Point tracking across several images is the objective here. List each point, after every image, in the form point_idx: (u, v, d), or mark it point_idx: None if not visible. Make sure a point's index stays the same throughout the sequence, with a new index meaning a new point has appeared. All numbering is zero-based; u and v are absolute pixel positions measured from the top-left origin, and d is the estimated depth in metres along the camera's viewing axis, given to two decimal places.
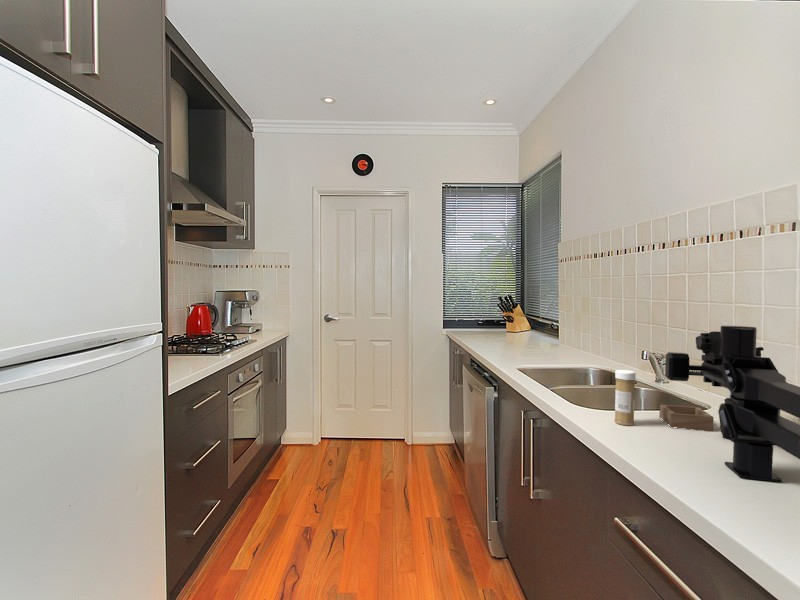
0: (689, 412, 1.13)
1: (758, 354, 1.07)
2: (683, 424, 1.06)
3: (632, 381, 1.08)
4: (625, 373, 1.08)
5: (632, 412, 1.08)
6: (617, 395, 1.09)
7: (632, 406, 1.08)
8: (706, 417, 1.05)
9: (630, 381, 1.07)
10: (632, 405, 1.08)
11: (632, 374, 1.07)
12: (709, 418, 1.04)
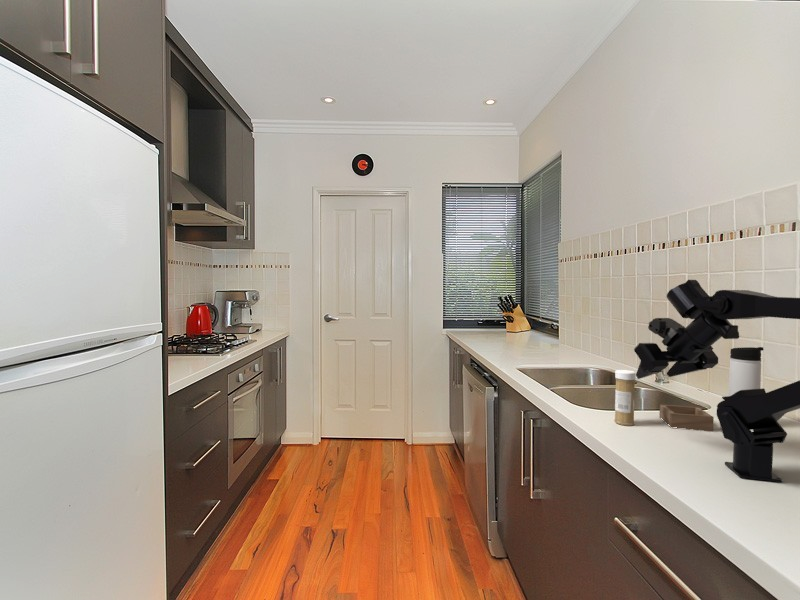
0: (689, 412, 1.13)
1: (758, 354, 1.07)
2: (683, 424, 1.06)
3: (632, 381, 1.08)
4: (625, 373, 1.08)
5: (632, 412, 1.08)
6: (617, 395, 1.09)
7: (632, 406, 1.08)
8: (706, 417, 1.05)
9: (630, 381, 1.07)
10: (632, 405, 1.08)
11: (632, 374, 1.07)
12: (709, 418, 1.04)
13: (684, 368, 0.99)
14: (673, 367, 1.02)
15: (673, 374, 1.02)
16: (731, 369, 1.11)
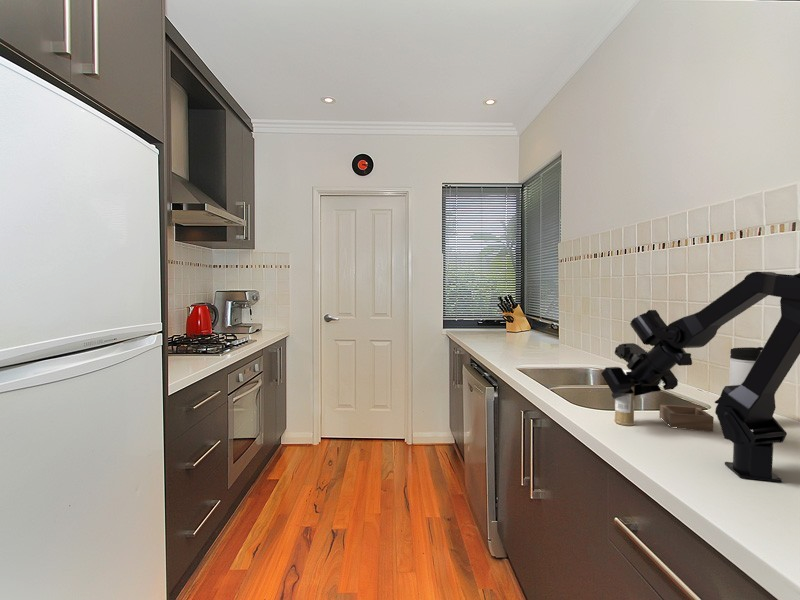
0: (689, 412, 1.13)
1: (758, 354, 1.07)
2: (683, 424, 1.06)
3: None
4: (625, 373, 1.08)
5: (632, 412, 1.08)
6: None
7: (632, 406, 1.08)
8: (706, 417, 1.05)
9: None
10: (632, 405, 1.08)
11: None
12: (709, 418, 1.04)
13: (641, 390, 1.08)
14: None
15: None
16: (731, 369, 1.11)
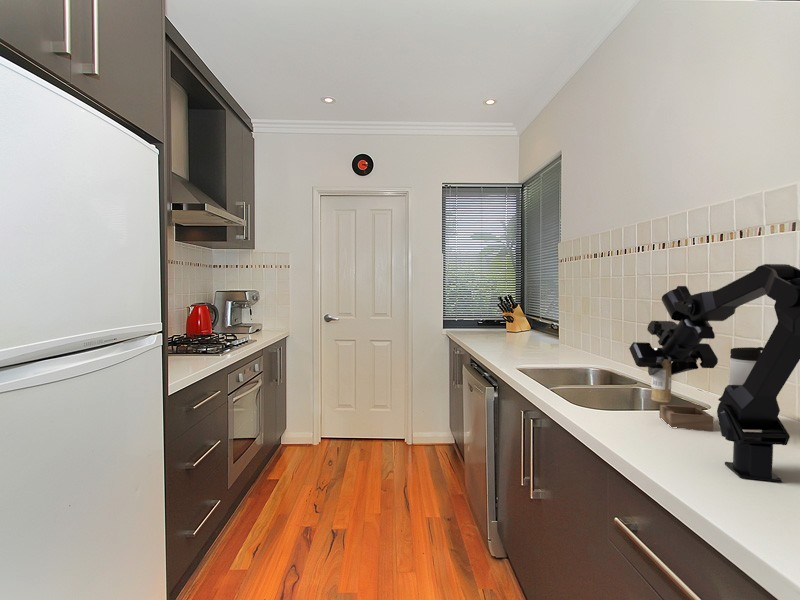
0: (689, 412, 1.13)
1: (758, 354, 1.07)
2: (683, 424, 1.06)
3: None
4: None
5: (667, 389, 1.08)
6: None
7: (667, 383, 1.08)
8: (706, 417, 1.05)
9: None
10: (667, 382, 1.08)
11: None
12: (709, 418, 1.04)
13: (678, 368, 1.08)
14: None
15: None
16: (731, 369, 1.11)
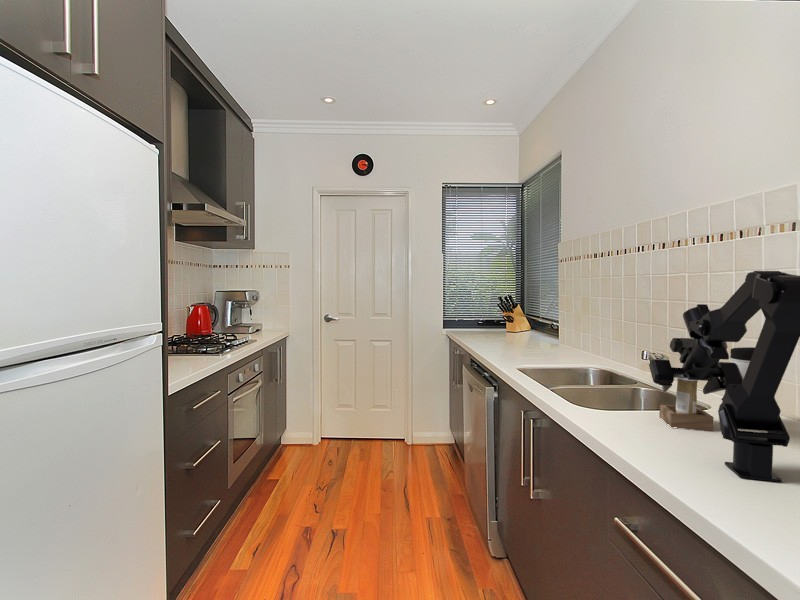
0: None
1: None
2: (683, 424, 1.06)
3: (691, 382, 1.07)
4: None
5: (691, 413, 1.07)
6: (676, 395, 1.10)
7: (691, 407, 1.07)
8: (706, 417, 1.05)
9: (689, 382, 1.07)
10: (691, 406, 1.07)
11: None
12: (709, 418, 1.04)
13: (713, 387, 1.06)
14: (706, 385, 1.09)
15: (705, 391, 1.08)
16: None
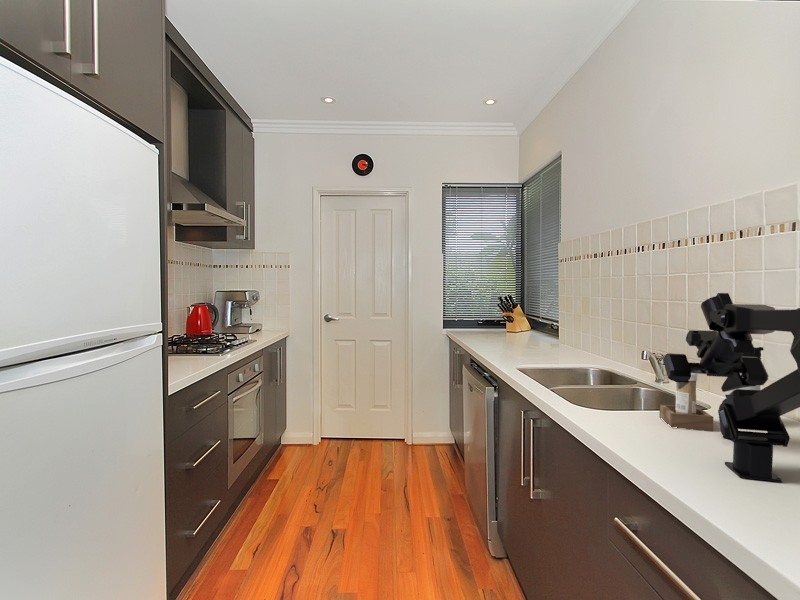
0: None
1: (758, 354, 1.07)
2: (683, 424, 1.06)
3: (690, 382, 1.07)
4: None
5: (691, 413, 1.07)
6: (676, 395, 1.10)
7: (691, 407, 1.07)
8: (706, 417, 1.05)
9: None
10: (691, 406, 1.07)
11: None
12: (709, 418, 1.04)
13: (733, 384, 0.97)
14: (725, 382, 0.99)
15: (725, 389, 0.99)
16: None
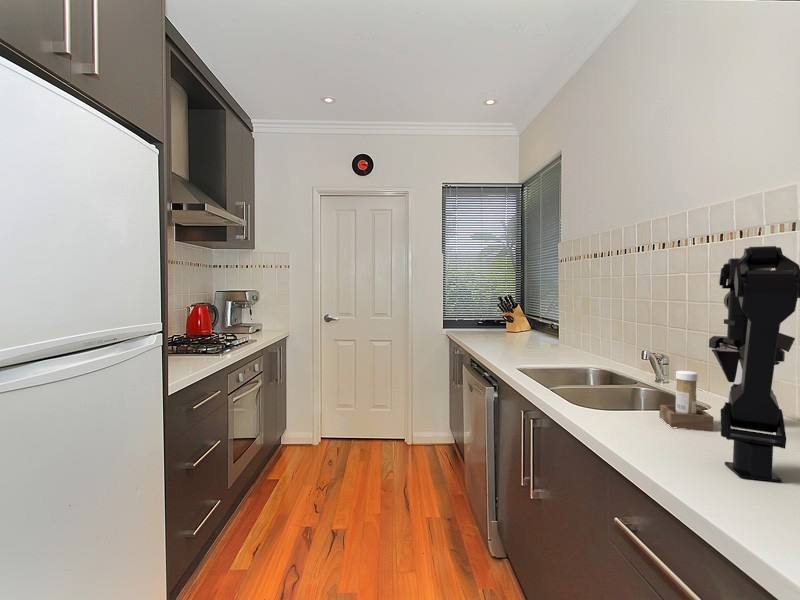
0: None
1: None
2: (683, 424, 1.06)
3: (691, 382, 1.07)
4: (682, 373, 1.08)
5: (691, 413, 1.07)
6: (676, 395, 1.10)
7: (691, 407, 1.07)
8: (706, 417, 1.05)
9: (688, 382, 1.07)
10: (691, 406, 1.07)
11: (690, 375, 1.07)
12: (709, 418, 1.04)
13: None
14: None
15: None
16: None
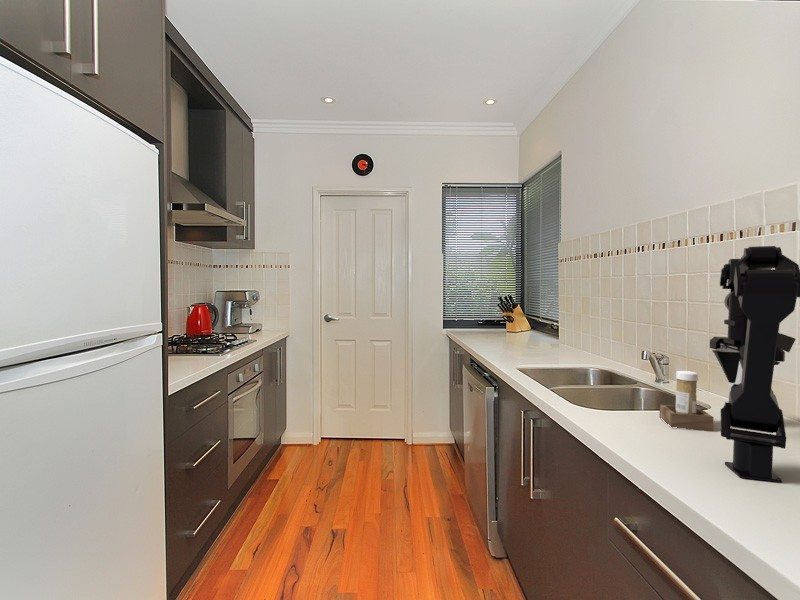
0: None
1: None
2: (683, 424, 1.06)
3: (691, 382, 1.07)
4: (683, 373, 1.08)
5: (691, 413, 1.07)
6: (676, 395, 1.10)
7: (691, 407, 1.07)
8: (706, 417, 1.05)
9: (688, 382, 1.07)
10: (691, 406, 1.07)
11: (691, 375, 1.07)
12: (709, 418, 1.04)
13: None
14: None
15: None
16: None
